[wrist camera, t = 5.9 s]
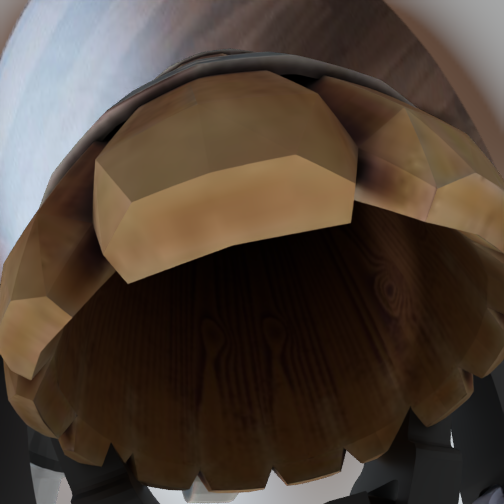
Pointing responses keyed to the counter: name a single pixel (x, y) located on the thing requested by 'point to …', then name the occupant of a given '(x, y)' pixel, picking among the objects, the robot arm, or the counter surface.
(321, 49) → the counter surface
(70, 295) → the mug
